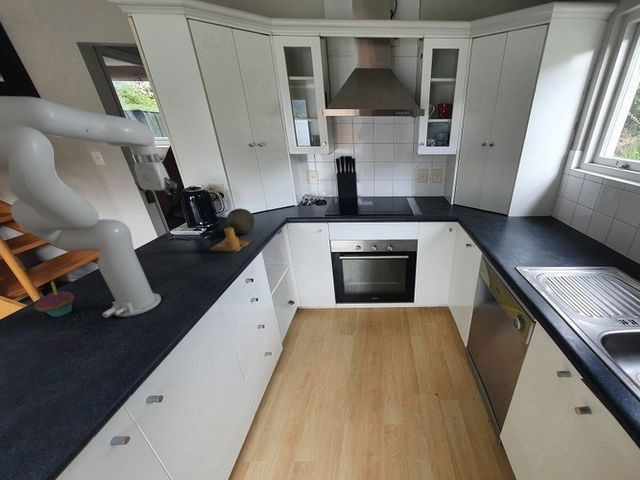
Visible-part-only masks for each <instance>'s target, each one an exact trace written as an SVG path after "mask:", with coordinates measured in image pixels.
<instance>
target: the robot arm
mask: <svg viewBox="0 0 640 480" xmlns="http://www.w3.org/2000/svg"><path fill="white" fill-rule="evenodd" d="M46 136H50V137H57V138H62V139H63V138H64V139H68V140H69V139H70V140H75V141H81V142H87V143H101V144H103V143H105V144H107V145H109V146H112V147H118V148H121V147H123V148H124V147H125V148H126V147H127V148H129V149H130V151H131V154H132V159H133V161H134V162H135V163H134V164H133V165H134V172H135V176H136V178H137V180H136V181H135V182H134V184H135V185H136V186H137V187H138V189H139V190H140V191H141V193H142V194H143V195H144V197H145V199H146V201H147V204H148V205H151V204H154V203H157V200H156V197H155V194H154V192H152V191H163V192H165V193H166V197H167V200H168V203H169V205H170V206H173V205H176V204H178V199H177V197H176V193H177V191H178V189H177V188H178V182H176V181H174V180H171V179H170V175H169V174H168V172H167V169H166V168H165V166H164V163H163V162H162V161H161V159H160V158H161V157H160V155H159V153H158V150H157V145H156V144H155V134H154V132H153V130H152V129H151V128H150V126H149V125H148V124H146V123H144V122H141V121H139V120H135V119H131V118H127V117H122V116H118V115H117V116H115V115H110V114H105V113H100V112H96V111H89V110H85V109H80V108H77V107H73V106H70V105H67V104H62V103H59V102H56V101H52V100H48V99H45V98H40V97H35V96H17V95H16V96H10V95H9V96H8V95H0V166H8V185H9V188H10V191H11V192H12V194H13V195H14V196H15V197H17V199H16V200H15V201H14V202H12V205H11V207H10V214H11V217H12V219H13V221H14V222H15V223H16V224H17V225H18V226H19V227H20V228H21V229H23V230H25V231H26V232H28V233H30V234H31V235H33V236H34V237H37V238H39V239H40V240H43V241H44V242H46V243H48V244H50V245H52V246H54V247H56V248H58V249H60V250H63V251H67V252H99V255H98V259H97V269H98V270H99V272H100V274H101V275H102V278H103V279H104V281H105V283H106V286H107V287H108V289H109V291H110V293H111V295H112V297H113V299H114V300H115V301H112V306H111V307H110V309H107V310H106V311H104V312H102V313H101V316H102V317H104V318H105V319H108V318H109V317H111V316H112V315H115V316H117V317H123V318H125V317H126V318H127V317H133V316H138V315H141V314H144V313H146V312H148V311H151V310H152V309H154V308H155V307H158V305H159V304H160V303H161V301H162V296H161V295H160V294H158V293H155V292H153V290H152V287H151V286H150V284H149V281H148V278H147V276H146V274H145V272H144V269H143V267H142V265H141V263H140V260H139V259H138V256H137V254H136V252H135V251H136V250H135V247H134V244H133V238H132V233H131V230H130V228H129V227H128V225H127V224H126V223H124V222H122V221H120V220H117V219H111V218H100V214H99V211H98V210H97V209H96V208H95V206H94V205H92V204H91V203H90V202H89V201H87V199H85V198H84V197H82V196H81V195H79V194H78V193H77V192H76V191H75V190H74V189H72V188H70V187H69V186H68V185H67V184H66V183H65V182H63V181H62V180H61V179H60V178H59V176H58V175H57V172H56V167H55V153H54V148H53V144H52V143H51V141H50V140H49V138H48V137H46Z"/></svg>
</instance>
